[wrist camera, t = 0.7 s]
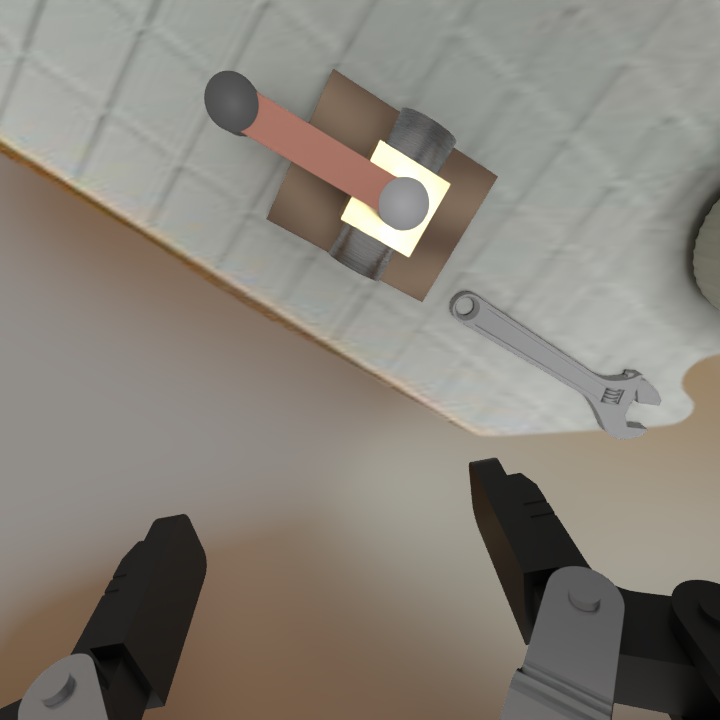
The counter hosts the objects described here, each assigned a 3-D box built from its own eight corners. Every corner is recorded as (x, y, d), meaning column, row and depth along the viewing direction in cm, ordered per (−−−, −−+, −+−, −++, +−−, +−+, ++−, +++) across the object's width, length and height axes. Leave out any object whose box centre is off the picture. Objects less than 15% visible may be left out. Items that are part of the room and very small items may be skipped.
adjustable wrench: (441, 309, 39) (445, 314, 37) (488, 250, 37) (495, 253, 36) (617, 438, 46) (627, 448, 44) (664, 394, 44) (677, 402, 43)
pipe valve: (386, 113, 30) (406, 92, 23) (445, 151, 32) (481, 142, 24) (322, 241, 33) (322, 258, 26) (378, 271, 35) (392, 296, 27)
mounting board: (332, 75, 31) (333, 68, 29) (488, 176, 34) (497, 176, 33) (269, 216, 34) (266, 218, 32) (417, 296, 38) (422, 302, 36)
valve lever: (228, 69, 23) (216, 56, 20) (428, 192, 26) (439, 193, 23) (208, 122, 24) (194, 115, 21) (404, 234, 27) (412, 240, 24)
